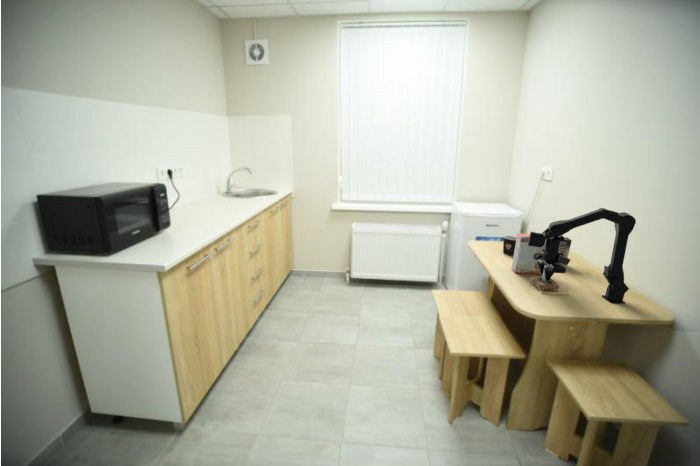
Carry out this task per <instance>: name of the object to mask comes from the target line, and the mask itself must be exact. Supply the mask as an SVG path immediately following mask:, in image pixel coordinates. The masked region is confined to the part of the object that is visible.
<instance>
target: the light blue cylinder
mask: <svg viewBox="0 0 700 466" xmlns="http://www.w3.org/2000/svg"><path fill="white" fill-rule="evenodd" d="M548 266H549V265H545V266H544V268H548ZM541 277H542V280H541V282H542V283H548V282H549V281H546V278H545V271H543V275H541Z"/></svg>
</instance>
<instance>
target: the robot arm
mask: <svg viewBox="0 0 700 466" xmlns="http://www.w3.org/2000/svg"><path fill="white" fill-rule="evenodd" d="M603 219H604V220H607V221H610V222H612V223H614V228H615V230H614V231H615V237H614V243H613V246H612V252H611V258H610V263H609V265H608V266H607V265H604V266H603V272H602V275H603V276H604V279H605V280H606V282H607V283H608V285H607V288H606V291H605V295H604V294H603V295H601V297H602V298H603V299H605V300H607V301H608V302H609V303H611V304H627V302H626V301H625V300H624V297H625V295H626V293H627V292H628V291H629V289H630V288H629V287H628V285H627V284H626V283H625V273H624V265H623V264H624V261H625V256H626V250H627V244H628V240H629V236H630V234H631V233H632V231H633V230H634V227H635V226H636V220H637V219H636V218H635V217H634V216H633V215H632V214H630V213H627V212H623V211H622V212H617V211H614V210H611V209H607V208H604V207H600V208H598V209H596V210H593V211H589V212H588V213H584V214H581V215H578V216H576V217H573V218H569V219H563V220H556V221H552V222H550V223H549V225H548V227H547V228H546V229H545V230H544V231H542V232H534V231H530V233H529V234H530V236H529V238H528V246H534V247H543V246H544V245H545V239H547V240H546V245H545V249H543V250H542V251H543V252H544V254H541V253H536V254H534V256H533V259H535V260H538V259H539V262H537V263H538V266H539V268H540V271H541V274H540V275H541V276H542V275H543V271H545V278H546V281H549V280H550V278H551V279H552V277H553V275H554V274H566V272H567V268H566V267H564V266H562V265H561V264H560V263H563V264H565V265H566V266H568V265H569V263H570V262H571V258H569V257H568V258H567V257H565V256H563V253H562V252H559V248H560V243H561V241H562V242H566V239H565V238H564V237H565V236H564V235H565V234H567V233H568V232H570V231H572V230H573V229H575V228H579V227H581V226H585V225H588V224H590V223H593V222H597V221H600V220H603ZM555 263H557V264H555ZM545 265H549V266H548V268H544V266H545Z"/></svg>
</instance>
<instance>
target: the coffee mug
mask: <svg viewBox="0 0 700 466" xmlns="http://www.w3.org/2000/svg"><path fill="white" fill-rule="evenodd" d="M516 238H517V236H512V235H505V236H503V243H502V244H503V245H502V246H503V247H502V252H503V253H502V254H504V255H508V256H514V250H515V244H516Z"/></svg>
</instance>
